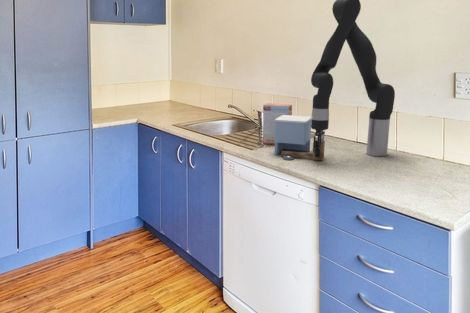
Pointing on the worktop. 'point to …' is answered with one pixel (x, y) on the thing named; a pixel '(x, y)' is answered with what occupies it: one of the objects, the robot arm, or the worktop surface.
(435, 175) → the worktop surface
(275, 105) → the cracker box
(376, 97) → the robot arm
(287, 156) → the grey metal dome
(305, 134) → the cabinet
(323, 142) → the wooden mallet
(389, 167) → the worktop surface
